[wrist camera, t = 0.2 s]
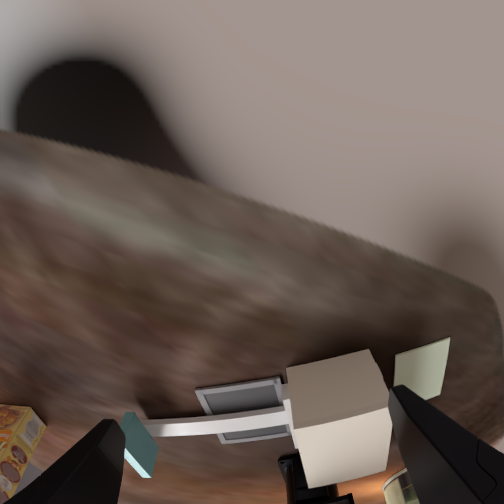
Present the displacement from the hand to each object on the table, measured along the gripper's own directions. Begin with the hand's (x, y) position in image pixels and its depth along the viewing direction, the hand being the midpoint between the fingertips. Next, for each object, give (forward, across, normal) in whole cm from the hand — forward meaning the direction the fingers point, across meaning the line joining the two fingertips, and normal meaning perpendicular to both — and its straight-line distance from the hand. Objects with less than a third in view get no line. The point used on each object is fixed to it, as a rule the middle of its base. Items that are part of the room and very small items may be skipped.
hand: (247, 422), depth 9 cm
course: (+14, -5, +16) cm, 22 cm away
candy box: (+15, +35, +17) cm, 41 cm away
